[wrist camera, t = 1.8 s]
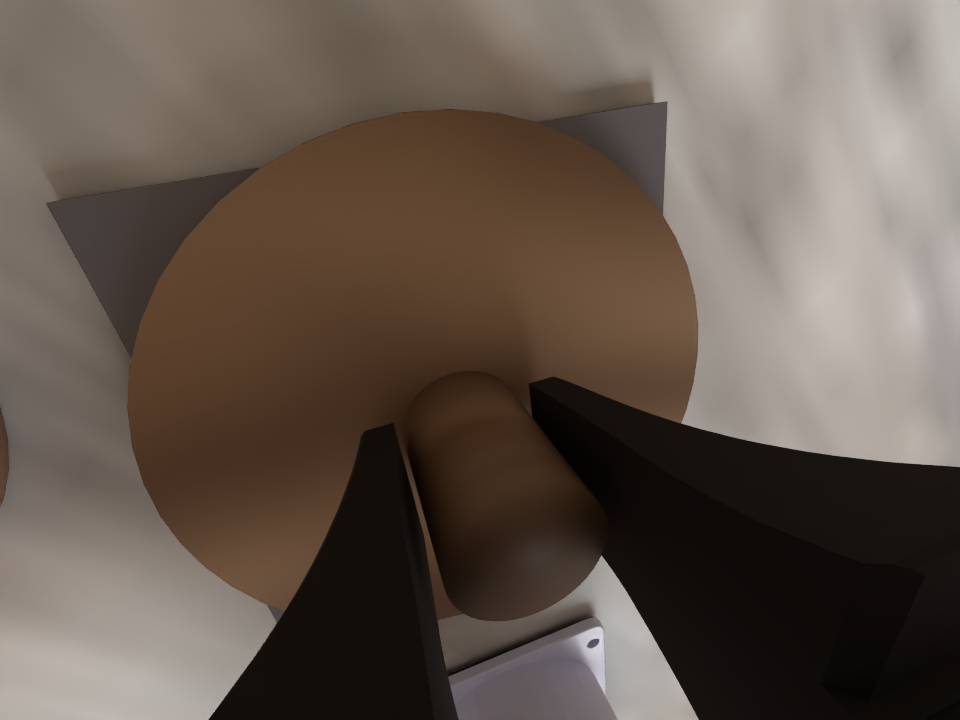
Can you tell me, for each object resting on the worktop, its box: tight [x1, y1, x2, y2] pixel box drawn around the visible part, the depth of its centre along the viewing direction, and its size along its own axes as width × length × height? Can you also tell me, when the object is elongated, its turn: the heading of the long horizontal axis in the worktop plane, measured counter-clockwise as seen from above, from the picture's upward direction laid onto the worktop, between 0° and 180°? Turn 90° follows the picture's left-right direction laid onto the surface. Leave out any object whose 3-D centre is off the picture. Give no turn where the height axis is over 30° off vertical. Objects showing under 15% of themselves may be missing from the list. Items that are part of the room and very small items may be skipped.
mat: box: [46, 102, 667, 622], centre depth 12 cm, size 12×12×1 cm
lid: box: [127, 109, 698, 621], centre depth 9 cm, size 13×13×5 cm
